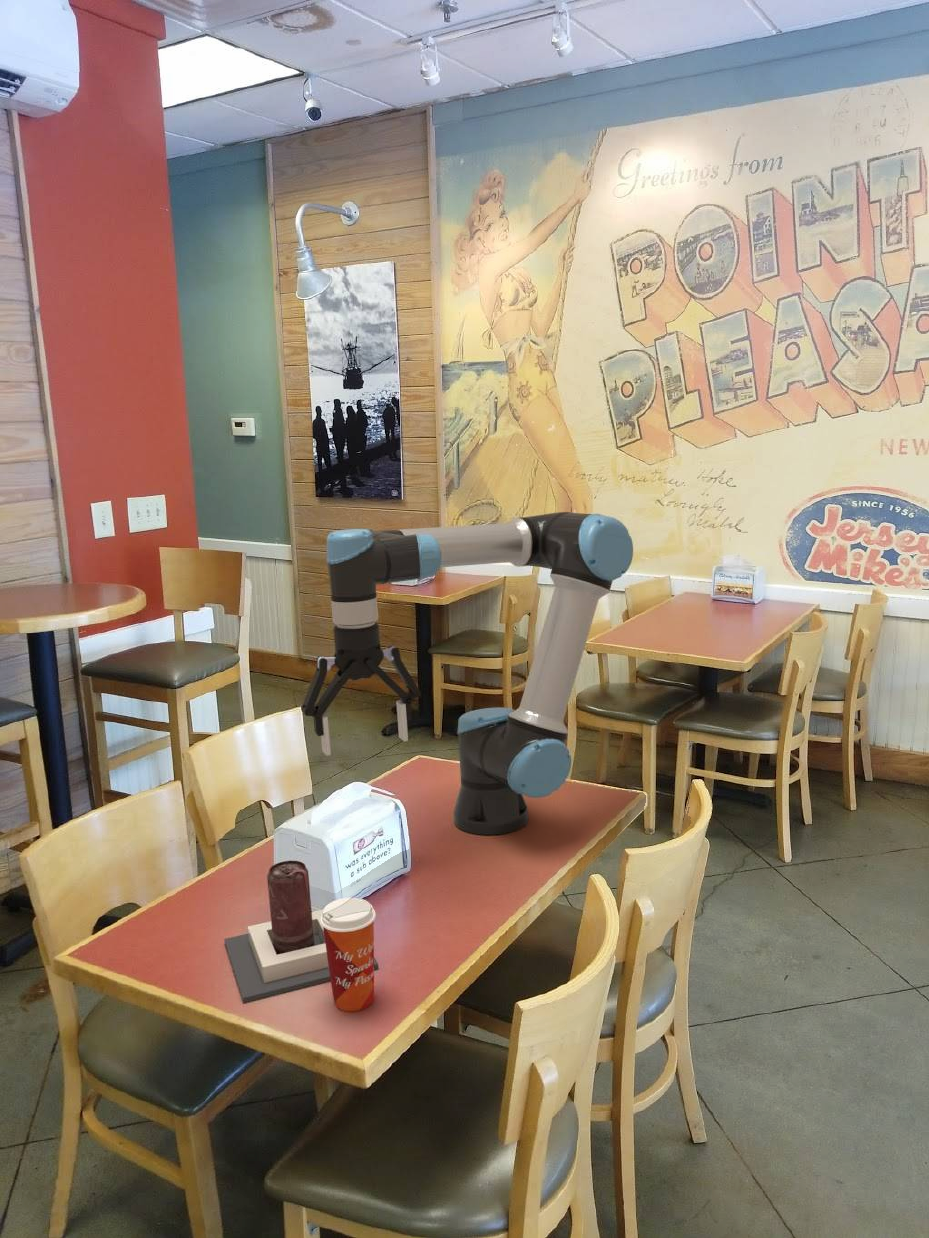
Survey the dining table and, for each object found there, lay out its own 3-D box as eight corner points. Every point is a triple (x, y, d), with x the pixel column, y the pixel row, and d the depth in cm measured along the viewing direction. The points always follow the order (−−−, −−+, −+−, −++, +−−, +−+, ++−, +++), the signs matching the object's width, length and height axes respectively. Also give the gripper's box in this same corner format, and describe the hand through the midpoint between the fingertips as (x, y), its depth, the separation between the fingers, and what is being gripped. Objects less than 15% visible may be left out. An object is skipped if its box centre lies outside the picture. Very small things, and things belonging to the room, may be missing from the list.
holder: (329, 922, 157) (328, 908, 156) (350, 961, 145) (349, 946, 145) (249, 941, 152) (247, 926, 152) (264, 982, 140) (262, 967, 140)
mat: (346, 915, 161) (346, 910, 161) (378, 968, 144) (378, 963, 144) (224, 943, 154) (224, 938, 153) (243, 1003, 137) (242, 998, 137)
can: (307, 964, 145) (300, 878, 142) (268, 961, 146) (260, 875, 143) (322, 943, 151) (315, 859, 148) (283, 940, 152) (276, 857, 149)
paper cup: (343, 1023, 131) (336, 928, 129) (317, 998, 137) (309, 907, 135) (392, 1001, 136) (386, 909, 133) (364, 978, 142) (358, 890, 139)
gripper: (419, 610, 168) (426, 727, 172) (276, 629, 159) (288, 752, 163) (434, 617, 161) (442, 739, 165) (286, 637, 152) (298, 765, 156)
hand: (365, 746), depth 164 cm, fingers open, 13 cm apart
